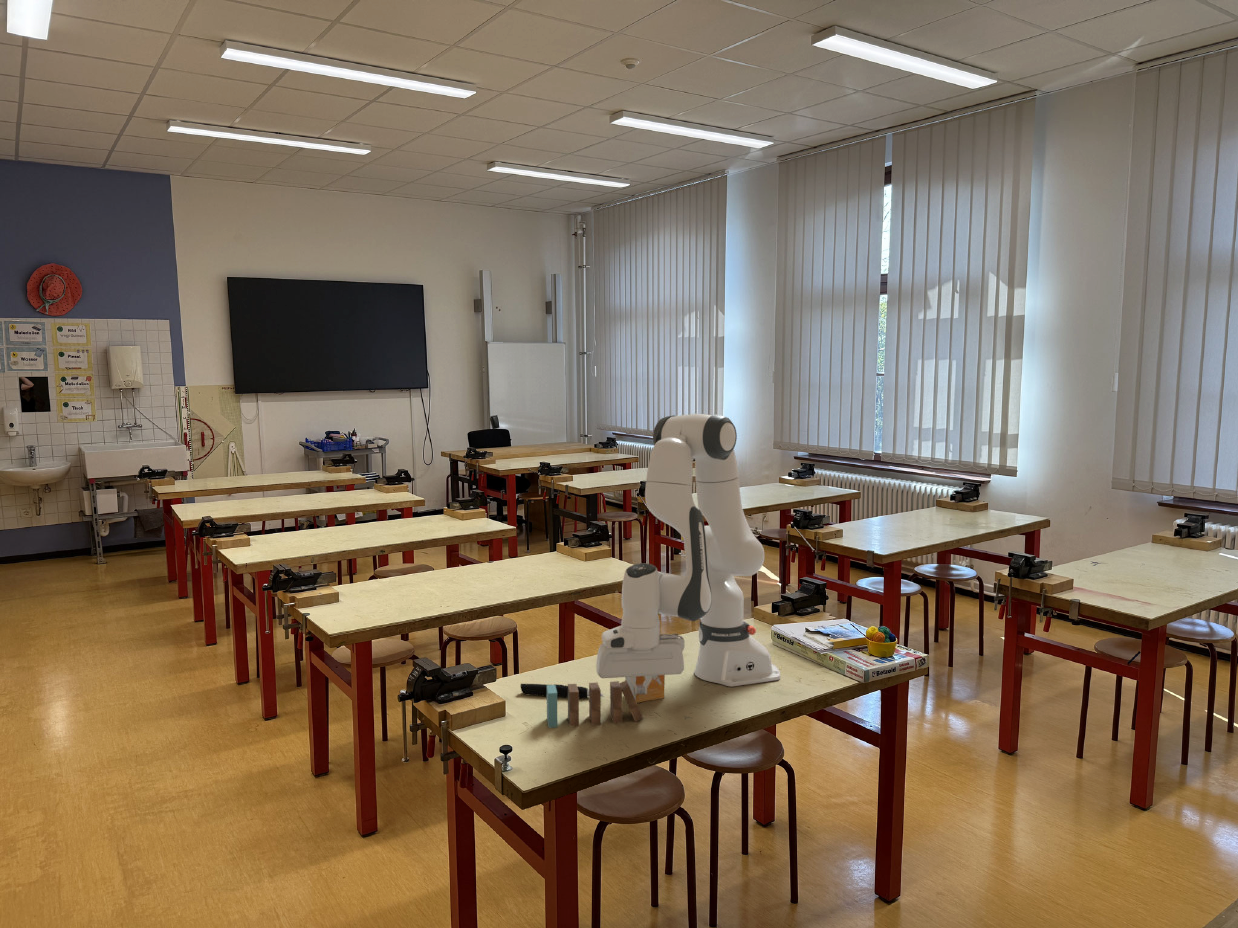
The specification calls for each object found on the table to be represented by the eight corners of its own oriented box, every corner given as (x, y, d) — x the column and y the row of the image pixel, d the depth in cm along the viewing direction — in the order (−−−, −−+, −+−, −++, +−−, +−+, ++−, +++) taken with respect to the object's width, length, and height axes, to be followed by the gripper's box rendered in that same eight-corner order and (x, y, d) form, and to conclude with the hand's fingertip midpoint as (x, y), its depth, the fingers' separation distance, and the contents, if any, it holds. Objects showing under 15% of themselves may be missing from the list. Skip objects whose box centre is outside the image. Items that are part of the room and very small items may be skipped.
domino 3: (597, 715, 195) (597, 682, 194) (600, 724, 190) (600, 690, 189) (589, 715, 195) (589, 682, 194) (592, 724, 190) (591, 690, 189)
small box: (635, 703, 202) (635, 651, 200) (624, 694, 207) (624, 643, 206) (665, 698, 205) (665, 647, 204) (653, 689, 211) (653, 639, 209)
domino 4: (618, 713, 196) (618, 681, 195) (622, 722, 191) (622, 688, 190) (610, 714, 195) (610, 681, 194) (613, 723, 190) (613, 689, 190)
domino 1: (548, 727, 188) (548, 693, 187) (546, 718, 193) (546, 685, 192) (557, 726, 188) (557, 692, 188) (555, 717, 193) (555, 684, 193)
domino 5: (639, 709, 196) (626, 679, 195) (643, 718, 191) (630, 687, 190) (631, 713, 196) (618, 683, 195) (635, 721, 191) (622, 691, 190)
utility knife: (606, 697, 206) (606, 685, 206) (604, 703, 202) (604, 691, 202) (522, 692, 210) (522, 680, 209) (518, 698, 206) (518, 686, 205)
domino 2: (576, 716, 194) (576, 683, 193) (578, 725, 189) (578, 691, 188) (567, 717, 194) (567, 684, 193) (570, 726, 189) (569, 692, 188)
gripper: (681, 629, 196) (680, 685, 198) (595, 633, 193) (595, 690, 195) (687, 637, 190) (687, 695, 192) (599, 641, 187) (598, 701, 188)
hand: (640, 693), depth 193 cm, fingers closed
